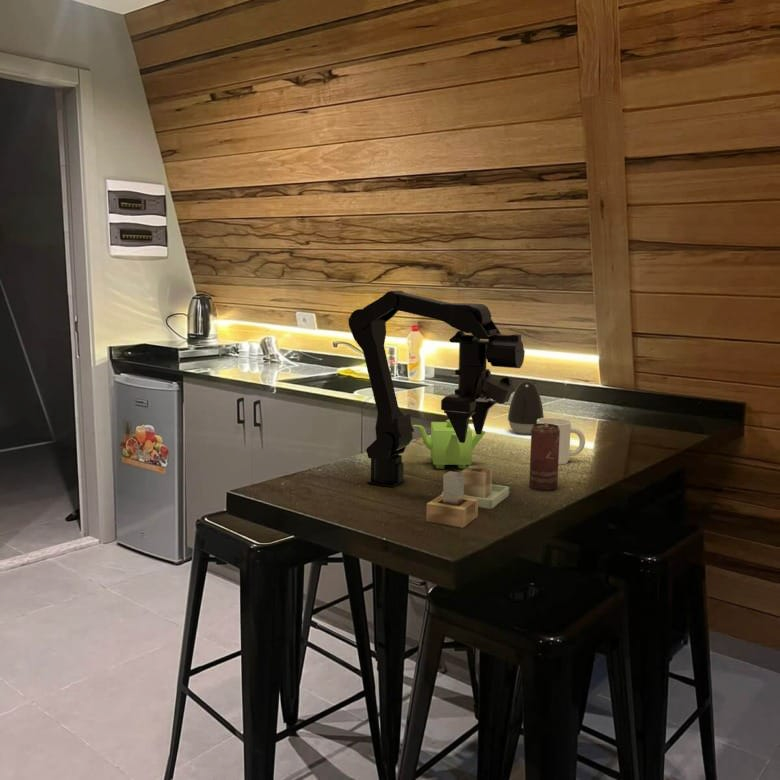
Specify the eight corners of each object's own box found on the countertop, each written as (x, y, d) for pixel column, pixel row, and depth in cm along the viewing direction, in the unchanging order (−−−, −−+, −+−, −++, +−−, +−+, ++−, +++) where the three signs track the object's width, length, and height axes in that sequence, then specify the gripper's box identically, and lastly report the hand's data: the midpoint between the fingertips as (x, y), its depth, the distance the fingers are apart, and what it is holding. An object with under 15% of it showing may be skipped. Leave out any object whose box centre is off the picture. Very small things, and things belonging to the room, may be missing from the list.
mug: (582, 458, 202) (584, 418, 201) (585, 467, 194) (587, 425, 193) (534, 456, 204) (536, 417, 202) (535, 464, 196) (537, 423, 194)
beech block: (460, 496, 167) (461, 471, 166) (469, 490, 171) (470, 465, 171) (483, 500, 165) (483, 474, 164) (491, 493, 169) (492, 468, 168)
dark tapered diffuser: (548, 431, 233) (551, 380, 231) (534, 438, 225) (536, 384, 222) (516, 427, 239) (518, 377, 236) (501, 433, 230) (503, 381, 228)
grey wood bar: (442, 519, 154) (443, 474, 153) (448, 515, 157) (449, 471, 155) (456, 522, 153) (457, 476, 151) (462, 517, 155) (464, 473, 154)
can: (553, 483, 180) (555, 422, 178) (560, 491, 174) (563, 428, 171) (526, 482, 180) (528, 422, 178) (532, 491, 174) (535, 428, 171)
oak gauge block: (426, 521, 153) (426, 503, 152) (442, 510, 160) (442, 493, 159) (463, 527, 150) (463, 509, 149) (477, 516, 156) (478, 499, 156)
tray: (441, 500, 166) (441, 492, 166) (461, 487, 176) (462, 479, 175) (491, 509, 161) (491, 500, 161) (509, 495, 171) (509, 486, 170)
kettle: (454, 476, 185) (455, 429, 183) (408, 465, 194) (408, 420, 192) (491, 464, 196) (493, 419, 194) (446, 454, 205) (447, 411, 203)
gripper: (493, 373, 154) (491, 452, 156) (524, 362, 170) (521, 434, 172) (440, 369, 159) (439, 445, 161) (475, 359, 175) (473, 428, 178)
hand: (470, 438), depth 168 cm, fingers open, 9 cm apart
